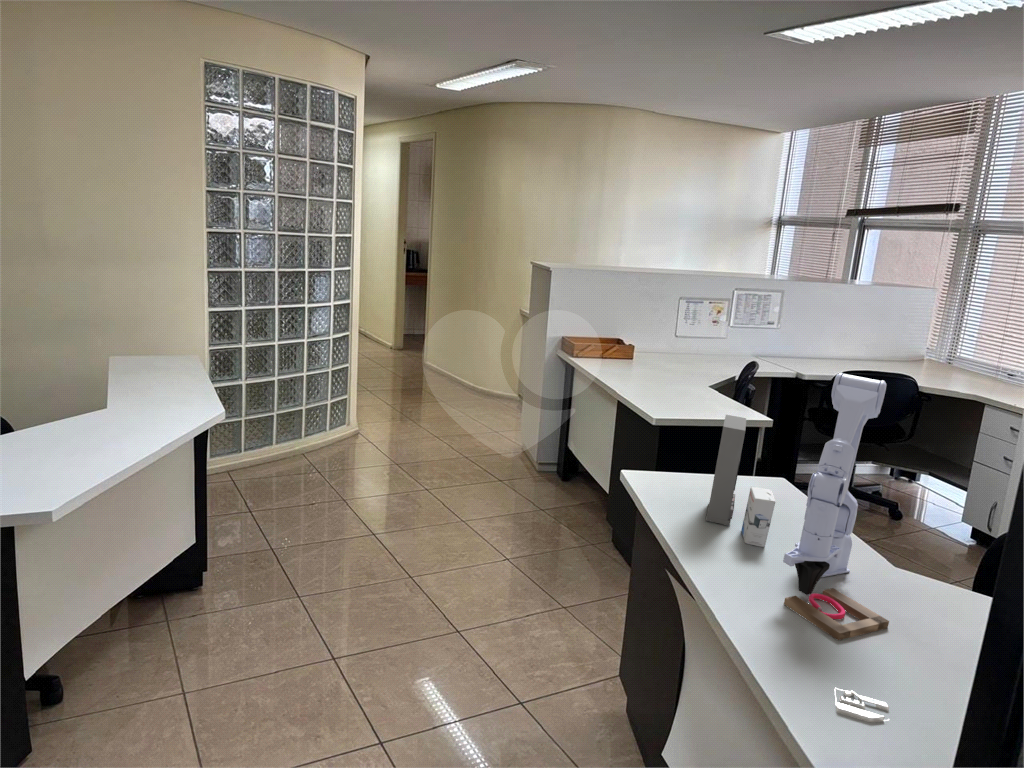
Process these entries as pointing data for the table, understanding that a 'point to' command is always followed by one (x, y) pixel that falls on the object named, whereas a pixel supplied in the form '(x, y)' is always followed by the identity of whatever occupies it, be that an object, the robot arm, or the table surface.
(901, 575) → the table surface
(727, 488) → the tall grey pillar
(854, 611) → the notched board
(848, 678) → the table surface
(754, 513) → the ink box
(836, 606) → the fitness band
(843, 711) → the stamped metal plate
